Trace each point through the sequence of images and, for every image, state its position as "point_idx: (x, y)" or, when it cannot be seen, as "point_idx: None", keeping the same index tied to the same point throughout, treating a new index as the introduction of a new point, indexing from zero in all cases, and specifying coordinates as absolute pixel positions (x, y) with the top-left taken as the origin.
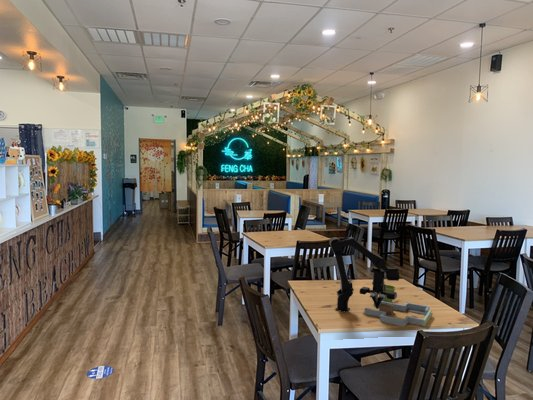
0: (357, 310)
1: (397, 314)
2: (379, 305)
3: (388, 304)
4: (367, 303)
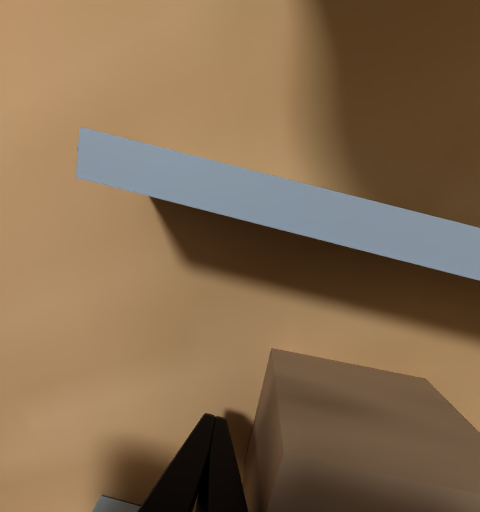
0: (9, 437)
1: None
2: (235, 482)
3: (437, 494)
4: (34, 109)
